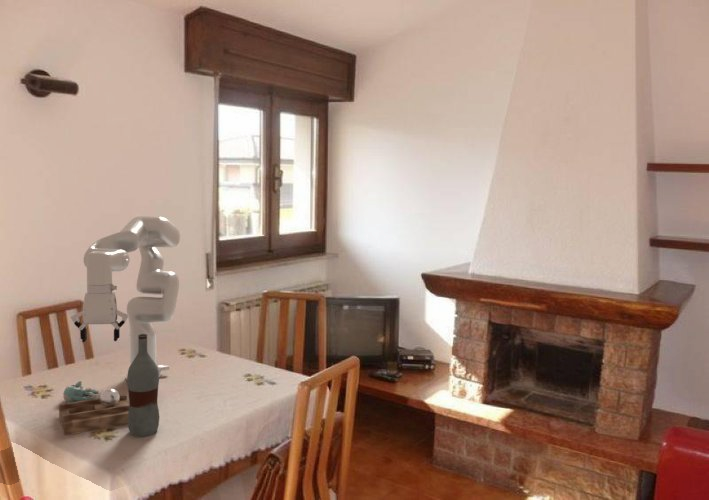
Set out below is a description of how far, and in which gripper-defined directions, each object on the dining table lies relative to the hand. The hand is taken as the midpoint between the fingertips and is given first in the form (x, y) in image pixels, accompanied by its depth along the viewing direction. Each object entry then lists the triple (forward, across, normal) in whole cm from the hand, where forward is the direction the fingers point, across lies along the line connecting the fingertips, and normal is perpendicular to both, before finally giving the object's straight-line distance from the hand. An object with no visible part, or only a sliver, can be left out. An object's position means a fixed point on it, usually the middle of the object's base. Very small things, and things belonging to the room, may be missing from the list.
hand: (100, 340), depth 195 cm
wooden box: (+23, 0, +9) cm, 25 cm away
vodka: (+24, -16, +21) cm, 35 cm away
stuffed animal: (+24, +8, -10) cm, 27 cm away
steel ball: (+17, -4, +8) cm, 19 cm away
